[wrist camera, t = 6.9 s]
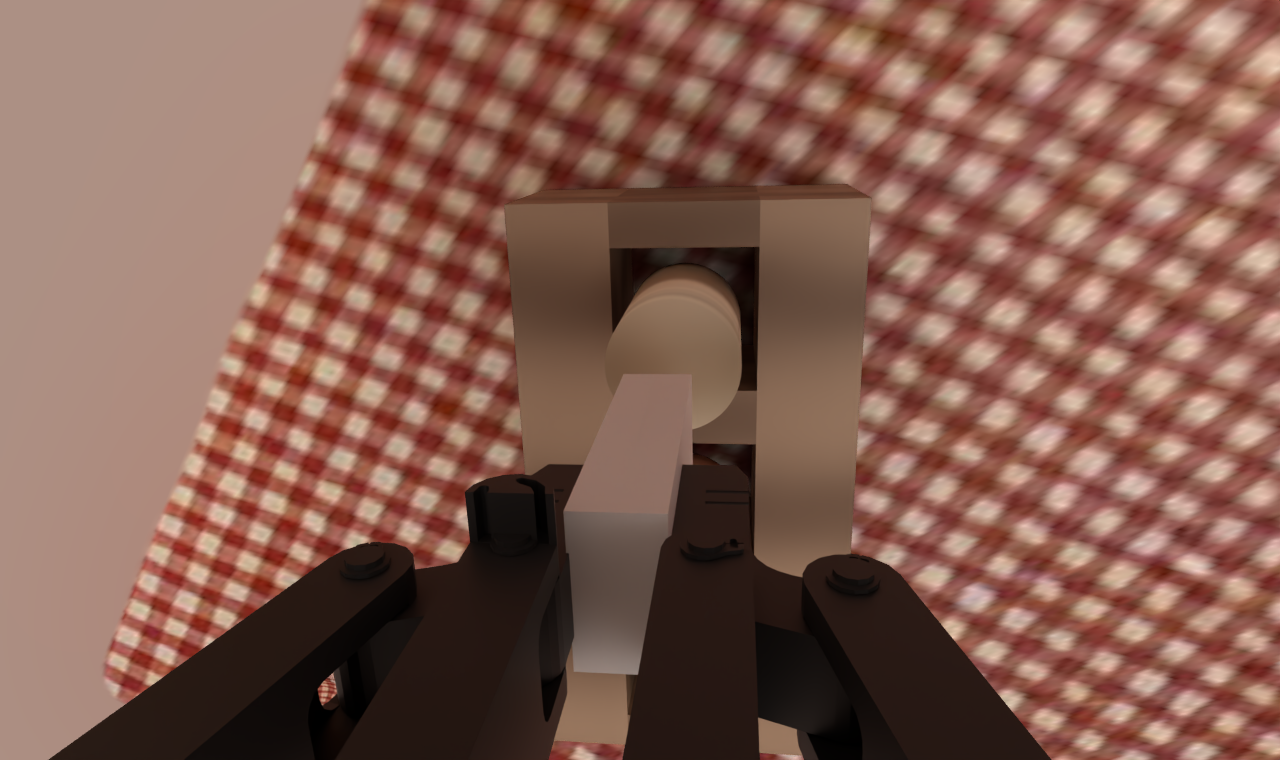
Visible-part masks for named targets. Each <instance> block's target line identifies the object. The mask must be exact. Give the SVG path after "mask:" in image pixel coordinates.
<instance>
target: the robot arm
mask: <svg viewBox="0 0 1280 760" xmlns="http://www.w3.org/2000/svg"><path fill="white" fill-rule="evenodd" d="M465 497H466V507H467V516H468V526H469V535H470V544H469V545H468V547H467V548H466V550H465V552H464V553H463V555H462V556H461V558H460V560H459V561H458V562H457V563H453V564H448V565H443V566H436V567H429V568H423V569H416V570H415V566H414V558H413V554H412V553H411V552H410V551H409V550H408V549H407V548H406V547H403V546H400V545H398V544H395V543H381V542H371V543H370V544H368V543H364V544H359V545H357V546H356V547H353V548H350V549H347V550H343V551H341V552H340V553H338V554H336V555H334V556H332V557H330V558H329V559H327V560H326V561H324V562H323V563H322V564H320V565H319V566H318V567H316V568H315V569H313V570H312V571H311V572H309V573H308V574H306V575H305V576H304V577H302V578H301V579H299V580H298V581H297V582H295V583H294V584H292V585H291V586H290V587H288V588H287V589H285V590H284V591H283V592H281V593H280V594H279V595H277V596H276V597H274V598H273V599H272V600H270V601H269V602H267V603H266V604H265V605H263V606H262V607H260V608H259V609H258V610H256V611H255V612H253V613H252V614H251V615H249V616H248V617H246V618H245V619H244V620H242V621H241V622H240V623H238V624H237V625H235V626H234V627H233V628H231V629H230V630H228V631H227V632H226V633H224V634H223V635H221V636H220V637H219V638H217V639H216V640H214V641H213V642H212V643H210V644H209V645H207V646H206V647H205V648H203V649H202V650H201V651H199V652H198V653H196V654H195V655H194V656H192V657H191V658H189V659H188V660H187V661H185V662H184V663H182V664H181V665H180V666H178V667H177V668H175V669H174V670H173V671H171V672H170V673H169V674H167V675H166V676H164V677H163V678H162V679H160V680H159V681H157V682H156V683H155V684H153V685H152V686H150V687H149V688H148V689H146V690H145V691H143V692H142V693H141V694H139V695H138V696H136V697H135V698H134V699H132V700H131V701H130V702H128V703H127V704H125V705H124V706H123V707H121V708H120V709H118V710H117V711H116V712H114V713H113V714H111V715H110V716H109V717H107V718H106V719H105V720H103V721H102V722H100V723H99V724H98V725H96V726H95V727H93V728H92V729H91V730H89V731H88V732H86V733H85V734H84V735H82V736H81V737H79V738H78V739H77V740H75V741H74V742H73V743H71V744H70V745H68V746H67V747H66V748H64V749H63V750H61V751H60V752H59V753H57V754H56V755H54V756H53V757H52V758H50V759H49V760H548V759H549V755H550V752H551V749H552V745H553V742H554V738H555V735H556V731H557V728H558V724H559V721H560V717H561V714H562V710H563V707H564V704H565V700H566V697H567V672H566V662H567V658H568V655H569V652H570V649H571V645H572V651H573V667H574V672H590V673H611V674H631V675H638V676H637V682H636V687H635V693H634V699H633V704H632V710H631V715H630V721H629V726H628V732H627V737H626V743H625V749H624V754H623V760H760V753H759V724H758V718H761V719H765V720H768V721H771V722H774V723H778V724H781V725H784V726H787V727H791V728H794V729H797V739H798V745H799V748H800V751H801V753H802V755H803V758H804V760H1051V759H1050V757H1049V756H1048V755H1047V754H1046V753H1045V751H1044V750H1043V749H1042V748H1041V746H1040V745H1039V744H1038V743H1037V742H1036V740H1035V739H1034V738H1033V737H1032V735H1031V734H1030V733H1029V732H1028V730H1027V729H1026V728H1025V727H1024V726H1023V724H1022V723H1021V722H1020V721H1019V719H1018V718H1017V717H1016V716H1015V715H1014V713H1013V712H1012V711H1011V710H1010V708H1009V707H1008V706H1007V705H1006V704H1005V702H1004V701H1003V700H1002V699H1001V697H1000V696H999V695H998V694H997V692H996V691H995V690H994V689H993V688H992V686H991V685H990V684H989V683H988V681H987V680H986V679H985V678H984V677H983V675H982V674H981V673H980V672H979V670H978V669H977V668H976V667H975V666H974V664H973V663H972V662H971V661H970V659H969V658H968V657H967V656H966V655H965V653H964V652H963V651H962V650H961V648H960V647H959V646H958V645H957V643H956V642H955V641H954V640H953V639H952V637H951V636H950V635H949V634H948V632H947V631H946V630H945V629H944V628H943V626H942V625H941V624H940V623H939V621H938V620H937V619H936V618H935V617H934V615H933V614H932V613H931V612H930V610H929V609H928V608H927V607H926V606H925V604H924V603H923V602H922V601H921V599H920V598H919V597H918V596H917V594H916V593H915V592H914V591H913V590H912V588H911V587H910V586H909V585H908V583H907V582H906V581H905V580H904V579H903V577H902V576H901V575H900V574H899V573H898V572H896V571H895V570H894V569H893V568H892V567H890V566H889V565H887V564H885V563H882V562H880V561H878V560H875V559H873V558H870V557H867V556H863V555H862V556H859V555H857V554H846V555H845V554H835V555H830V556H826V557H821V558H818V559H816V560H815V561H813V562H811V563H809V564H808V565H807V567H806V568H805V570H804V572H803V574H802V577H799V576H794V575H790V574H787V573H783V572H780V571H777V570H775V569H773V568H771V567H768V566H766V565H765V564H764V563H762V562H761V561H760V560H758V559H757V557H756V556H755V555H754V554H753V551H752V548H751V542H750V515H749V487H748V477H747V476H746V475H745V474H744V473H743V472H742V471H741V470H740V469H739V468H738V467H737V466H736V465H693V448H692V374H623V377H622V379H621V381H620V384H619V386H618V388H617V390H616V393H615V395H614V397H613V399H612V402H611V404H610V406H609V409H608V411H607V413H606V415H605V418H604V420H603V422H602V424H601V427H600V429H599V431H598V434H597V436H596V438H595V440H594V443H593V445H592V447H591V450H590V452H589V454H588V456H587V459H586V461H585V463H584V465H573V464H548V465H546V466H545V467H543V468H542V469H540V470H539V471H537V472H536V473H534V474H533V475H524V474H514V475H502V476H498V477H493V478H489V479H486V480H483V481H481V482H479V483H476V484H474V485H473V486H472V487H470V488H469V489H468V490H467V491H466V492H465ZM333 672H334V678H335V684H336V690H337V694H336V695H335V696H334V697H333V698H332V699H331V700H330V701H329V702H327V703H325V704H324V705H322V704H321V702H320V699H319V693H318V688H319V687H320V685H321V684H322V683H323V681H324V680H325V679H326V678H328V677H329V676H330V675H331V674H332V673H333Z"/></svg>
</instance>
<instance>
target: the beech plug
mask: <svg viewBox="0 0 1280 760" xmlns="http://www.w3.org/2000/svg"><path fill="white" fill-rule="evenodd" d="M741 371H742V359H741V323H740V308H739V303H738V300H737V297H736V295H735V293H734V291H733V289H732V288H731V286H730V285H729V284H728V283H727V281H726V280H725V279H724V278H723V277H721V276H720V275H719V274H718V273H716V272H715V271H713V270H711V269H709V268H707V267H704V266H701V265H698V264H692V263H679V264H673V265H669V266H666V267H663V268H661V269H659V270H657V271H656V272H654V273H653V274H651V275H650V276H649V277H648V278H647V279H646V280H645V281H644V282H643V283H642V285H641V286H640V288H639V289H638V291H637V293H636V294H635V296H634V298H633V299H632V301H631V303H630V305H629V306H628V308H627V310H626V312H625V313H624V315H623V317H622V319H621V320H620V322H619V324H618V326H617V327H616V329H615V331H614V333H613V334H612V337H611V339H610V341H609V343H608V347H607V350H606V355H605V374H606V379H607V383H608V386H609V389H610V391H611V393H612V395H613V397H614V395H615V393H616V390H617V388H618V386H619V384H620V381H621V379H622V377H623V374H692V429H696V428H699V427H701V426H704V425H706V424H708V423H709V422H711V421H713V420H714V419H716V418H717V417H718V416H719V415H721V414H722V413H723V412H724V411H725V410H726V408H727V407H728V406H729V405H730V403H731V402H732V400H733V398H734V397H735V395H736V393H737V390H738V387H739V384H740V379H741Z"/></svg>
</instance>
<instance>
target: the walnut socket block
mask: <svg viewBox="0 0 1280 760" xmlns="http://www.w3.org/2000/svg"><path fill="white" fill-rule="evenodd" d="M871 202H872V198H871V197H869V196H867V195H865V194H863V193H862V192H860V191H858V190H856V189H855V188H853V187H851V186H849V185H847V184H827V185H776V186H725V187H674V188H624V189H573V190H543V191H540V192H538V193H535V194H532V195H529V196H527V197H524V198H521V199H518V200H516V201H513V202H510V203H507V204H505V205H504V209H505V222H506V235H507V248H508V261H509V274H510V286H511V299H512V312H513V325H514V338H515V351H516V364H517V376H518V389H519V402H520V415H521V428H522V441H523V454H524V466H525V475H533V474H534V473H536V472H537V471H539V470H540V469H542V468H543V467H545V466H546V465H548V464H573V465H584V463H585V461H586V459H587V456H588V454H589V452H590V450H591V447H592V445H593V443H594V440H595V438H596V436H597V434H598V431H599V429H600V427H601V424H602V422H603V420H604V418H605V415H606V413H607V411H608V409H609V406H610V404H611V402H612V399H613V395H612V393H611V391H610V389H609V386H608V383H607V379H606V374H605V355H606V350H607V347H608V343H609V341H610V339H611V337H612V334H613V333H614V331H615V329H616V327H617V326H618V324H619V322H620V320H621V319H622V317H623V315H624V313H625V312H626V310H627V308H628V306H629V305H630V303H631V301H632V299H633V273H632V248H690V247H755V271H754V333H753V345H741V359H742V371H741V379H740V384H739V387H738V390H737V393H736V395H735V397H734V398H733V400H732V402H731V403H730V405H729V406H728V407H727V408H726V410H725V411H724V412H723V413H722V414H721V415H719V416H718V417H717V418H716V419H714V420H713V421H711V422H709V423H708V424H706V425H704V426H701V427H699V428H696V429H692V443H708V444H752V458H751V497H749V515H750V542H751V548H752V551H753V554H754V555H755V556H756V557H757V559H758V560H760V561H761V562H762V563H764V564H765V565H766V566H768V567H771V568H773V569H775V570H777V571H780V572H783V573H787V574H790V575H794V576H799V577H802V574H803V572H804V570H805V568H806V567H807V565H808V564H809V563H811V562H813V561H815V560H816V559H818V558H821V557H826V556H830V555H835V554H845V555H846V554H851V540H852V523H853V506H854V489H855V472H856V455H857V438H858V422H859V405H860V388H861V371H862V354H863V337H864V320H865V304H866V287H867V270H868V253H869V236H870V219H871ZM566 672H567V697H566V700H565V704H564V707H563V710H562V714H561V717H560V721H559V724H558V728H557V731H556V735H555V738H554V740H557V741H573V742H590V743H606V744H622V745H625V743H626V737H627V732H628V726H629V721H630V715H631V710H632V704H633V699H634V693H635V687H636V682H637V676H638V675H631V674H611V673H590V672H574V667H573V651H572V645H571V649H570V652H569V655H568V658H567V662H566ZM758 724H759V753H770V754H786V755H802V753H801V751H800V748H799V745H798V739H797V729H794V728H791V727H787V726H784V725H781V724H778V723H774V722H771V721H768V720H765V719H761V718H758Z"/></svg>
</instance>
